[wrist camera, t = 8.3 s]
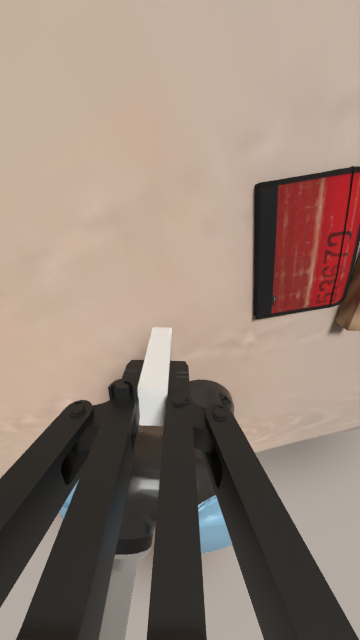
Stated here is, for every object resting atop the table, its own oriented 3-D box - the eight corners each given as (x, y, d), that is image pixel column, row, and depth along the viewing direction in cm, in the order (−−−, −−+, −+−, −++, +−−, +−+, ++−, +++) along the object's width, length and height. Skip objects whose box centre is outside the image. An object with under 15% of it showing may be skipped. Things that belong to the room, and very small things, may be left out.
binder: (257, 320, 37) (258, 181, 28) (252, 315, 39) (252, 184, 30) (347, 306, 36) (380, 160, 27) (338, 301, 39) (365, 165, 29)
